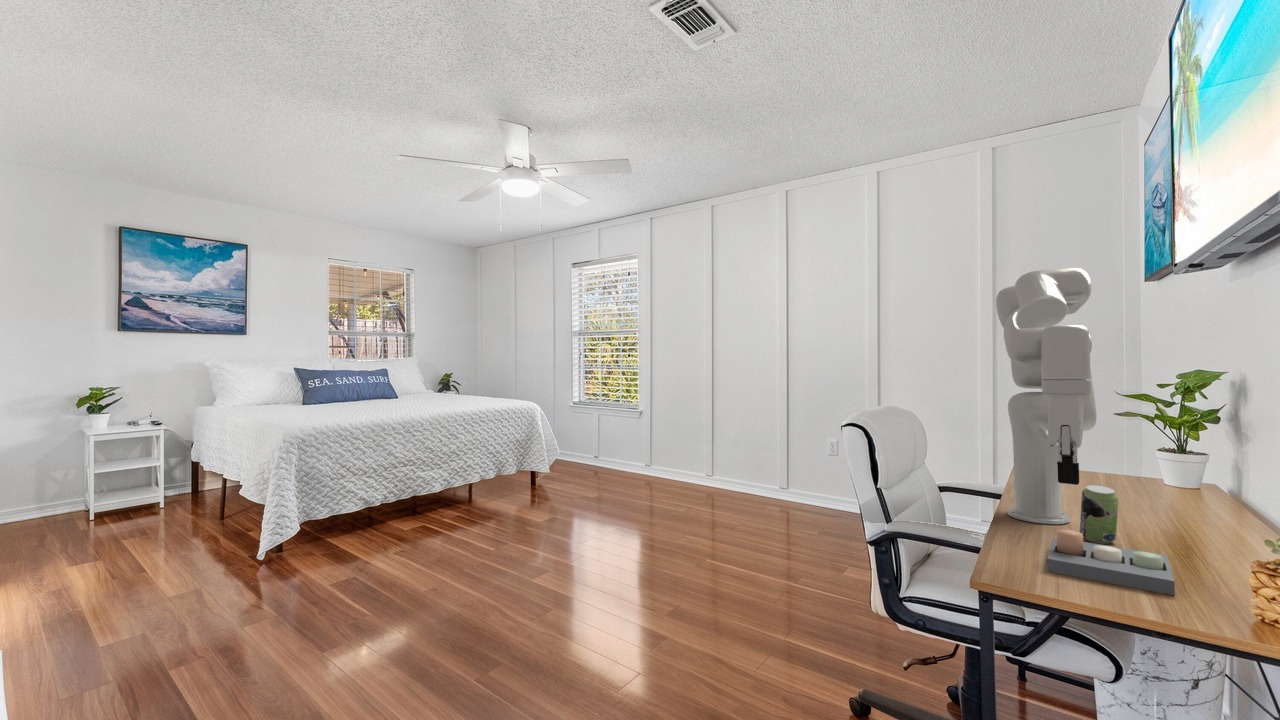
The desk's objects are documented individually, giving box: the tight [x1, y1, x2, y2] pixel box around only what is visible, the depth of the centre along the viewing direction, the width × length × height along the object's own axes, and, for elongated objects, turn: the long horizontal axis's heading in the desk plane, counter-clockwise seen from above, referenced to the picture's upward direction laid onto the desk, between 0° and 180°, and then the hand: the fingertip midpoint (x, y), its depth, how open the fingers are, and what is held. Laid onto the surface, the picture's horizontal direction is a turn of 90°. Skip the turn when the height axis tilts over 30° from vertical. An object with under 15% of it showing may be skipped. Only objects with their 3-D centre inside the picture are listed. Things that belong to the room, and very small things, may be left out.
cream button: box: [1093, 544, 1122, 563], centre depth 101 cm, size 4×4×4 cm
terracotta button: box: [1056, 529, 1084, 555], centre depth 105 cm, size 4×4×4 cm
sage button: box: [1132, 551, 1163, 570], centre depth 98 cm, size 4×4×4 cm
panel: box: [1046, 537, 1176, 596], centre depth 102 cm, size 16×17×2 cm
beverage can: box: [1079, 484, 1119, 545], centre depth 118 cm, size 6×7×12 cm
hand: (1068, 482), depth 105 cm, fingers closed
